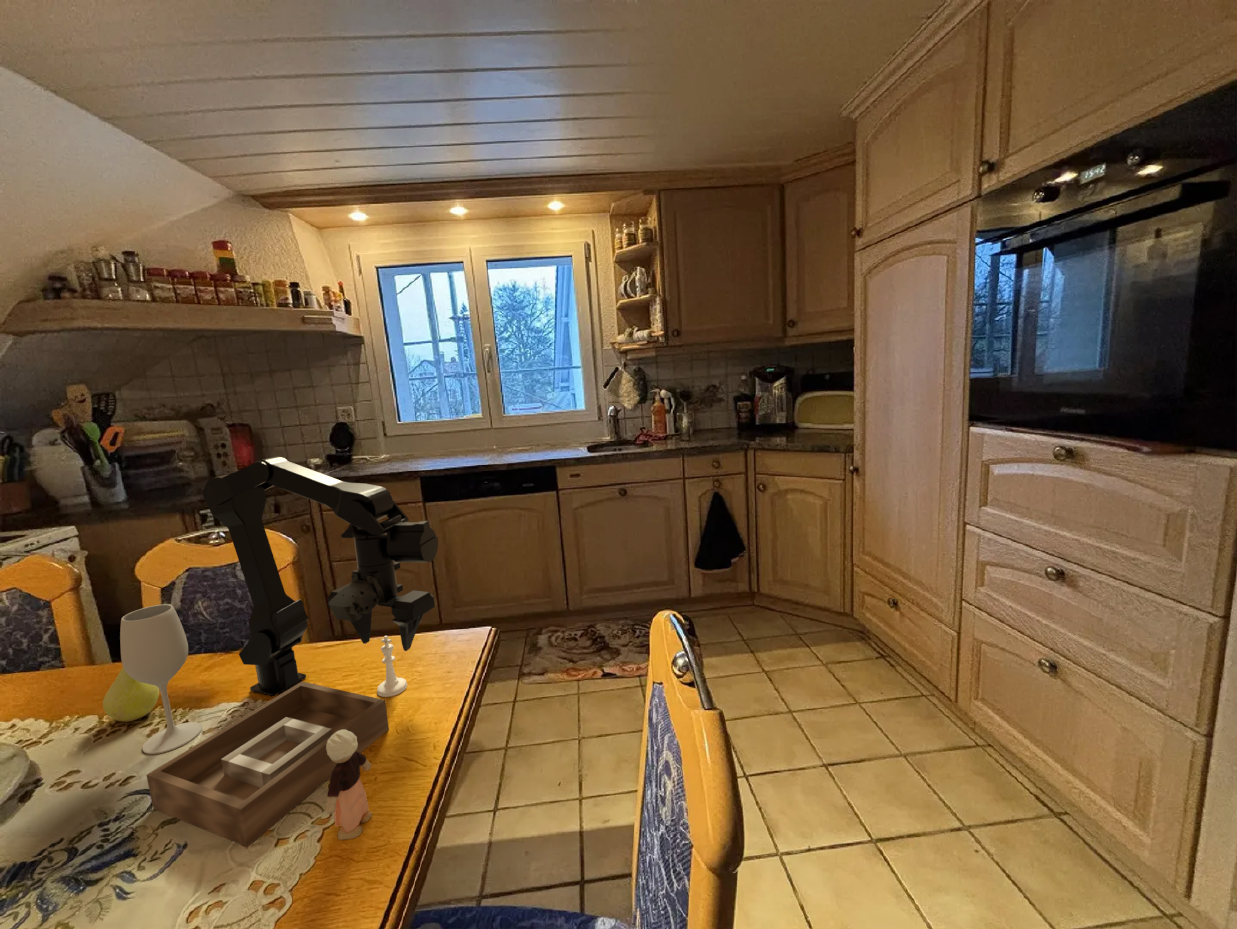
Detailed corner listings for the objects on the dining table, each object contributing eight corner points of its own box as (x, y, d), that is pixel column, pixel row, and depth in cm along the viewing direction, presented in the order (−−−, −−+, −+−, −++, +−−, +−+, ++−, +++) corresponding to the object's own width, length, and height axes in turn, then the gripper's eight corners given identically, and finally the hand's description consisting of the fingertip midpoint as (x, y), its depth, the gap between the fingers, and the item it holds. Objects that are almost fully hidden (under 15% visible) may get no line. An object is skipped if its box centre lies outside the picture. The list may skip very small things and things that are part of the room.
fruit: (99, 725, 87) (83, 658, 85) (152, 699, 94) (139, 636, 92) (123, 733, 84) (108, 664, 82) (176, 705, 91) (163, 641, 89)
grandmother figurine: (350, 804, 67) (336, 715, 65) (380, 801, 68) (368, 712, 66) (321, 858, 60) (305, 758, 58) (356, 854, 60) (341, 755, 58)
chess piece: (396, 698, 90) (389, 644, 89) (371, 696, 91) (363, 642, 90) (412, 682, 95) (406, 630, 93) (388, 680, 96) (382, 629, 94)
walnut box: (153, 809, 68) (146, 774, 67) (306, 708, 88) (301, 681, 88) (247, 846, 62) (240, 809, 61) (388, 729, 82) (385, 700, 81)
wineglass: (151, 761, 77) (123, 628, 74) (133, 744, 81) (105, 617, 78) (212, 731, 84) (188, 607, 80) (192, 717, 88) (168, 598, 84)
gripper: (293, 573, 85) (306, 662, 88) (381, 584, 79) (393, 680, 81) (349, 551, 96) (360, 631, 98) (432, 559, 89) (441, 645, 91)
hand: (386, 646), depth 92 cm, fingers open, 9 cm apart
